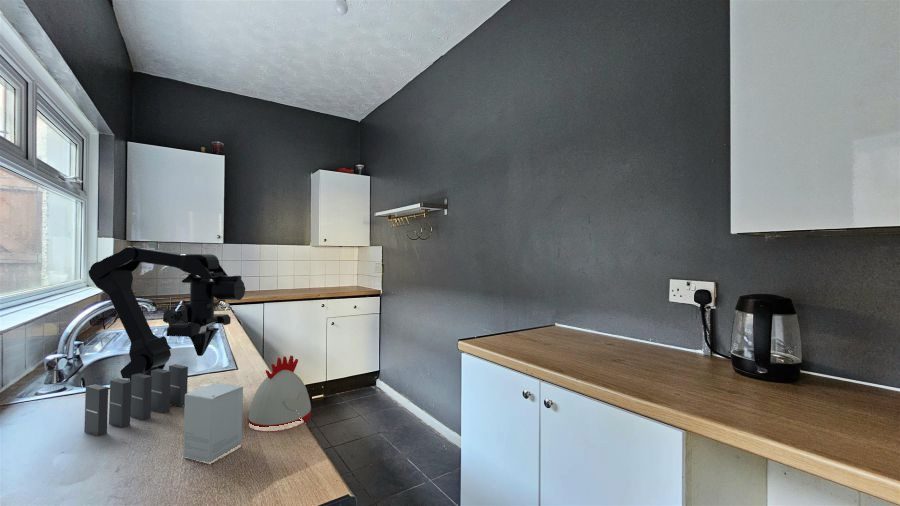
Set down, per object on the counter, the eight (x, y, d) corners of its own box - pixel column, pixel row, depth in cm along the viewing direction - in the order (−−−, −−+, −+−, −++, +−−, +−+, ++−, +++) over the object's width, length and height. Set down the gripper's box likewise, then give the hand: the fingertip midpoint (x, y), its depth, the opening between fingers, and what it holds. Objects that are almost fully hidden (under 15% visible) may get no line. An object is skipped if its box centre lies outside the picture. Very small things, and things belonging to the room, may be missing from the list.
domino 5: (174, 401, 98) (175, 364, 98) (187, 404, 96) (188, 366, 96) (167, 404, 96) (168, 365, 96) (180, 407, 94) (181, 368, 95)
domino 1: (93, 428, 82) (95, 384, 82) (107, 432, 80) (108, 387, 80) (83, 432, 81) (85, 386, 81) (97, 436, 79) (98, 389, 79)
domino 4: (157, 407, 94) (158, 368, 94) (169, 411, 92) (170, 371, 92) (149, 410, 92) (150, 370, 92) (162, 413, 91) (163, 373, 91)
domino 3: (138, 414, 90) (139, 373, 90) (150, 417, 88) (152, 376, 88) (129, 416, 88) (131, 375, 89) (142, 420, 87) (144, 378, 87)
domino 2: (117, 420, 86) (118, 378, 86) (130, 425, 84) (131, 381, 84) (108, 424, 85) (109, 380, 85) (121, 428, 83) (122, 383, 83)
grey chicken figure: (322, 415, 92) (324, 355, 92) (270, 438, 80) (272, 369, 80) (288, 402, 99) (290, 347, 99) (236, 421, 87) (238, 358, 88)
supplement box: (243, 447, 76) (244, 386, 76) (209, 466, 69) (211, 398, 69) (216, 440, 78) (218, 381, 78) (181, 458, 71) (183, 393, 71)
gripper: (194, 295, 111) (192, 346, 111) (145, 302, 92) (143, 365, 92) (232, 295, 111) (230, 347, 111) (191, 303, 93) (188, 365, 92)
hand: (200, 355), depth 102 cm, fingers closed
